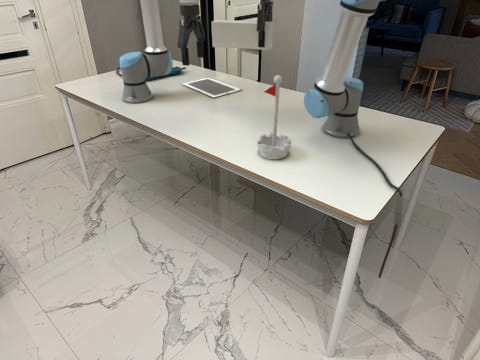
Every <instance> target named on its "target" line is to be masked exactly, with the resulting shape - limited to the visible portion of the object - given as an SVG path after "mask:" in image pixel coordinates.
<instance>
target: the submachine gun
mask: <svg viewBox="0 0 480 360" xmlns="http://www.w3.org/2000/svg"><path fill="white" fill-rule="evenodd" d="M183 70H187V67H186V66H183V67H180V66H172V70H171V72H170V73H169V74H166V75H163V76H162V75H160V76H154V77H147V78H146V81H148V80H150V81H152V80H153V79H157V78H160V77H166V76H170V75H176V74H180V73H181V72H183Z"/></svg>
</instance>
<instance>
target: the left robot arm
mask: <svg viewBox="0 0 480 360" xmlns="http://www.w3.org/2000/svg"><path fill="white" fill-rule="evenodd" d="M139 2H140V8H141V16H142V20H143V21H142V22H143V28H144V36H145V42H146V47H145V49H144V53H142V52H141V51H131V52H127V53H125V54H122V55H121V56H120V57H119V66H118V67H116V71H115V72H116V74H117V75H118V76H119V77H122V82H123V90H122V100H123V101H124V102H125V103H128V104H140V103H145V102H148V101H150V100H151V99H153V95H152V92H151V90H150V88H149V85H148V84H147V79H146V78H147V77H154V76H160V75H162V76H161V77H164V76H163V75H166V74H169V73H170V72H171V70H172V67H173V66H174V65H173V64H174V62H173V57H172V53H171V52H170V51H168V48H167V47H166V46H165V45H164V37H163V29H162V21H161V20H162V19H161V13H160V12H161V11H160V4H159V0H139ZM178 2H179V14H180V16H181V17H183V19H179V30H178V36H177V37H178V39H177V44H176V45H177V48H178V49H180V50H181V51H180V52H181V62H182V66H190V53H189V48H188V45H189V40H190V37H191V33H193V34H194V36H195V38H196V41H195V42H196V56H197V58H201V59H203V58H205V51H204V42H205V41H206V33H205V29H204V27H203V23H202V17H201V15H200V14H201V9H200V8H201V7H200V0H178ZM119 70H120V72H121V73H120V72H118V71H119ZM166 76H167V75H166Z"/></svg>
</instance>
